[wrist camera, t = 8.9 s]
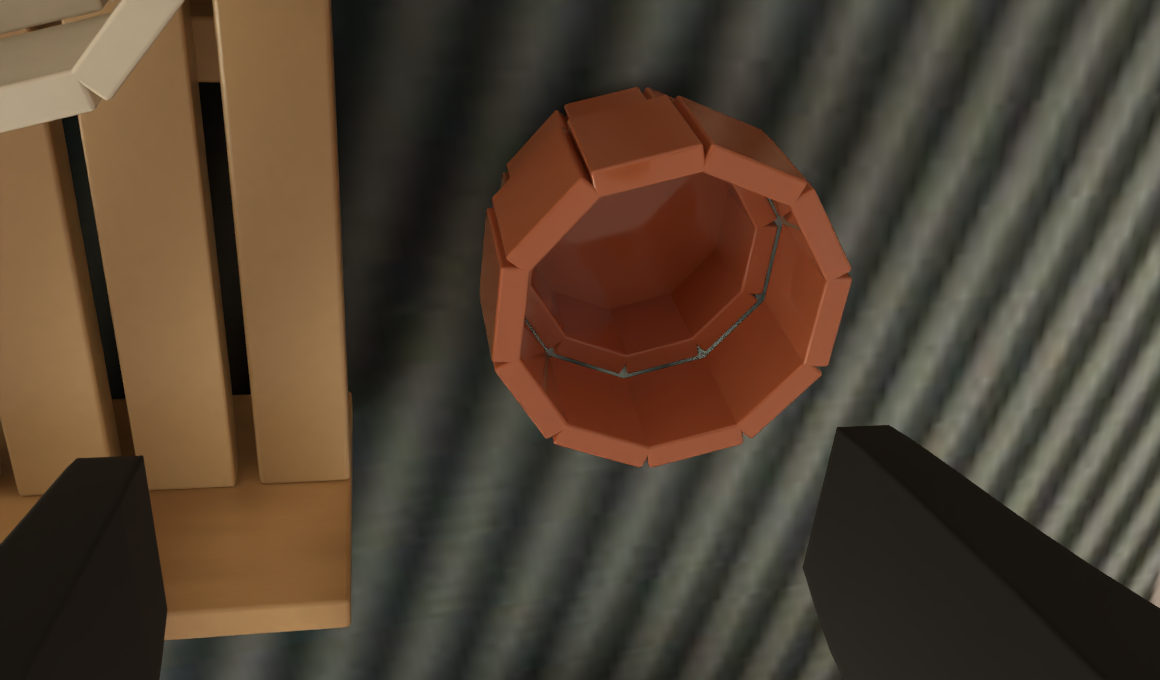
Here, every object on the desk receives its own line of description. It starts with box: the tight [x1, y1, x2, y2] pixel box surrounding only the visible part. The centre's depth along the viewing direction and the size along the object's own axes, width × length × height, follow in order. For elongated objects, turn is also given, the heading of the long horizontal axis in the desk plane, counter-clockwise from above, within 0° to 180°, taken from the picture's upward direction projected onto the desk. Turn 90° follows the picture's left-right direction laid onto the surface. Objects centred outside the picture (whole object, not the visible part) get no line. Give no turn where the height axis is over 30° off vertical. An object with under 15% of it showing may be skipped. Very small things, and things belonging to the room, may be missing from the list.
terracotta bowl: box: [479, 87, 852, 467], centre depth 19 cm, size 6×6×4 cm
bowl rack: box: [0, 0, 353, 640], centre depth 15 cm, size 8×16×6 cm, turn 176°
